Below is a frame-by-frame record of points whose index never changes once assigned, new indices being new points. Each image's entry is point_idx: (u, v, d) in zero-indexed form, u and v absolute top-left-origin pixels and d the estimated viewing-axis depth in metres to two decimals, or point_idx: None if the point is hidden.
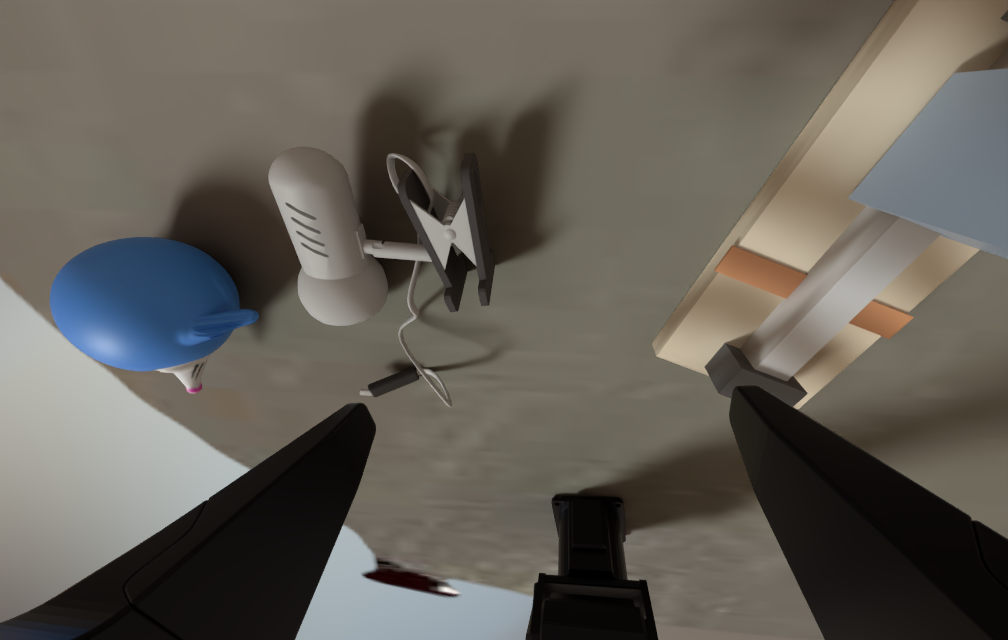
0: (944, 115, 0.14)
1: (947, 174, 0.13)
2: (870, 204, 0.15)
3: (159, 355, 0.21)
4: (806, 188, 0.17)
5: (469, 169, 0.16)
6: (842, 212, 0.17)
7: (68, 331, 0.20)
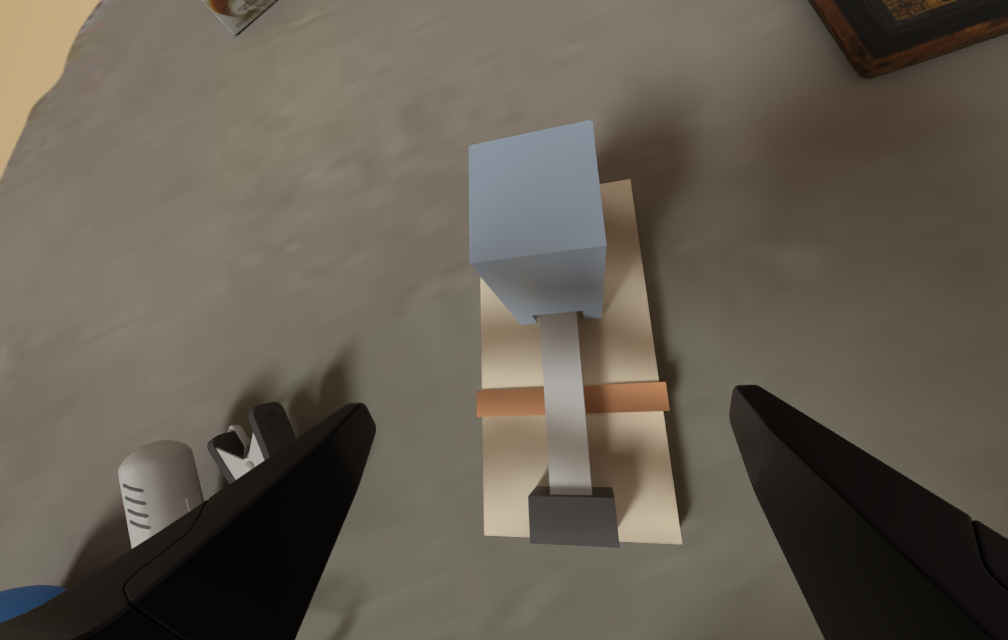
0: None
1: None
2: (516, 318, 0.20)
3: None
4: (497, 332, 0.22)
5: (256, 408, 0.22)
6: (533, 335, 0.22)
7: None
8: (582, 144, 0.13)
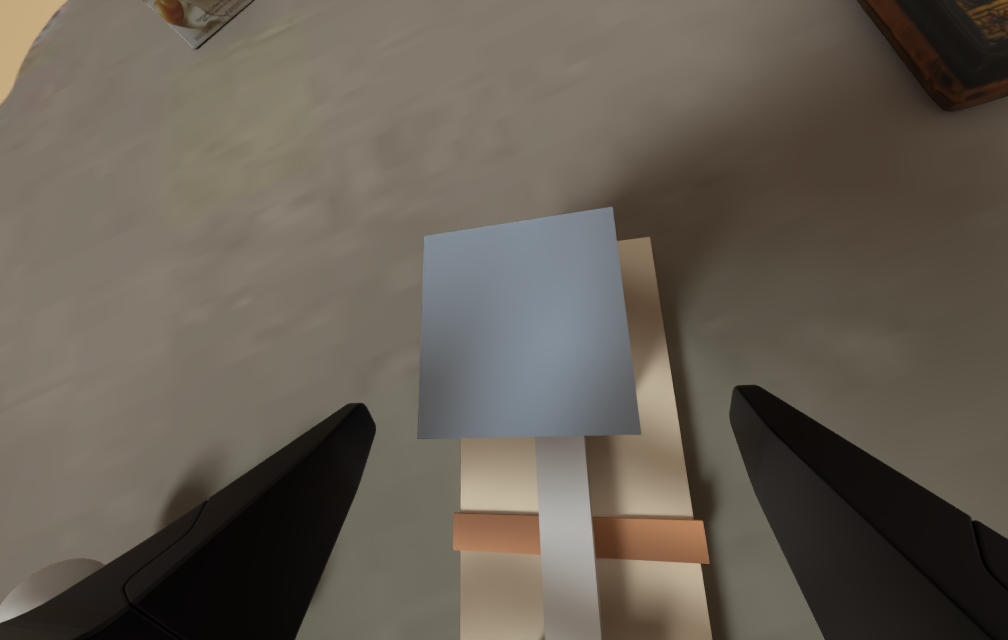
0: None
1: None
2: None
3: None
4: None
5: None
6: (526, 440, 0.17)
7: None
8: (597, 247, 0.08)
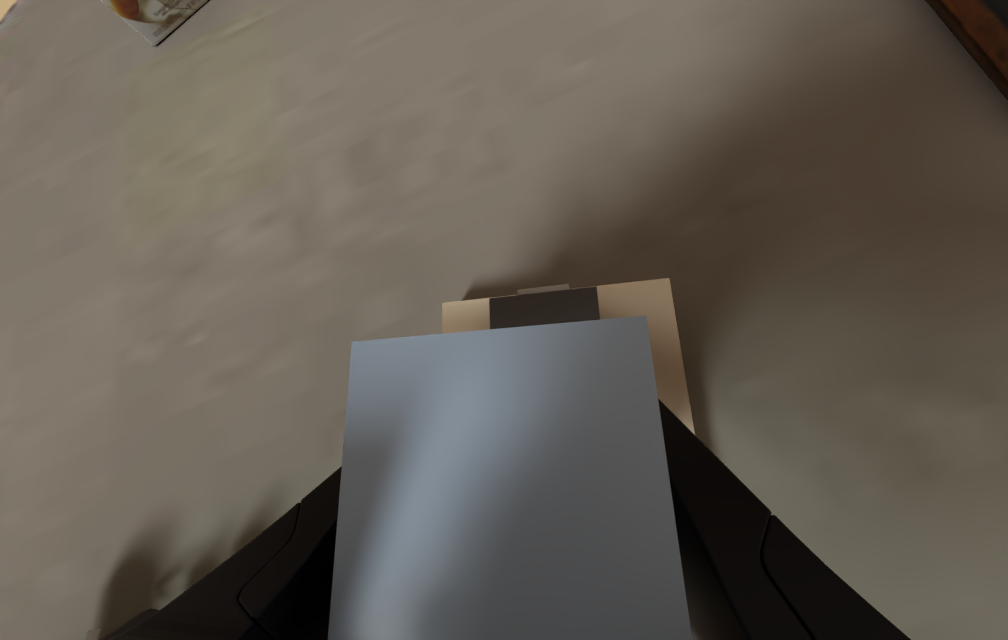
0: None
1: None
2: None
3: None
4: None
5: None
6: None
7: None
8: (623, 388, 0.05)
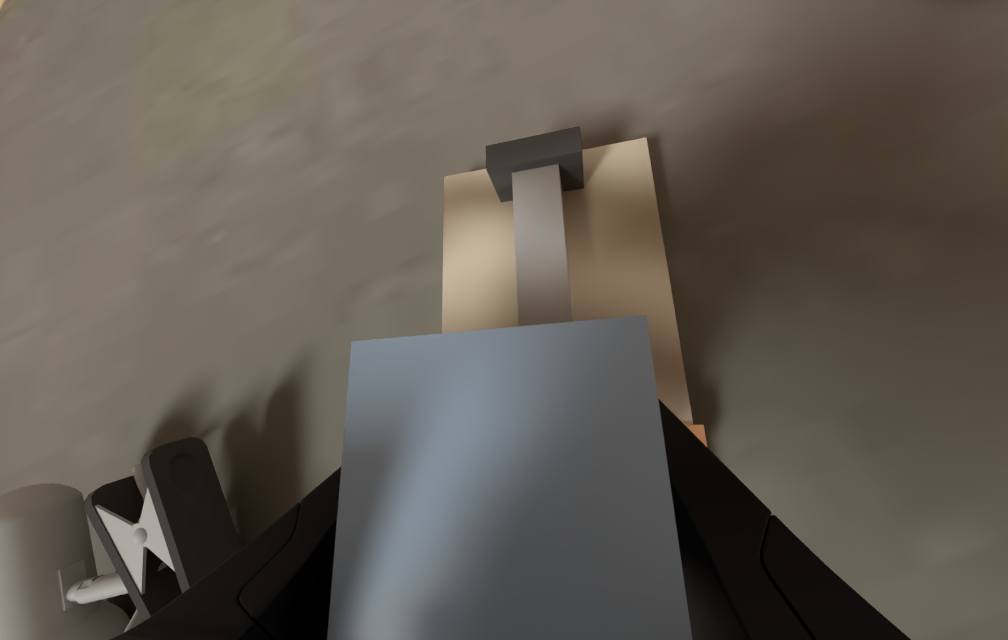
0: None
1: None
2: None
3: None
4: None
5: (156, 450, 0.15)
6: None
7: None
8: (623, 387, 0.05)
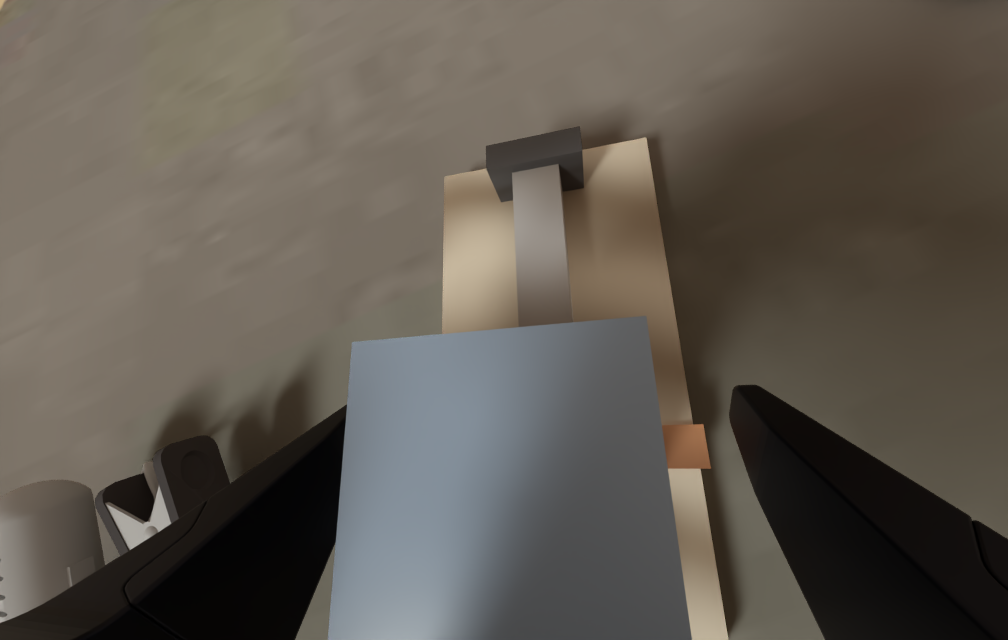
0: None
1: None
2: None
3: None
4: None
5: (168, 448, 0.15)
6: None
7: None
8: (622, 388, 0.05)
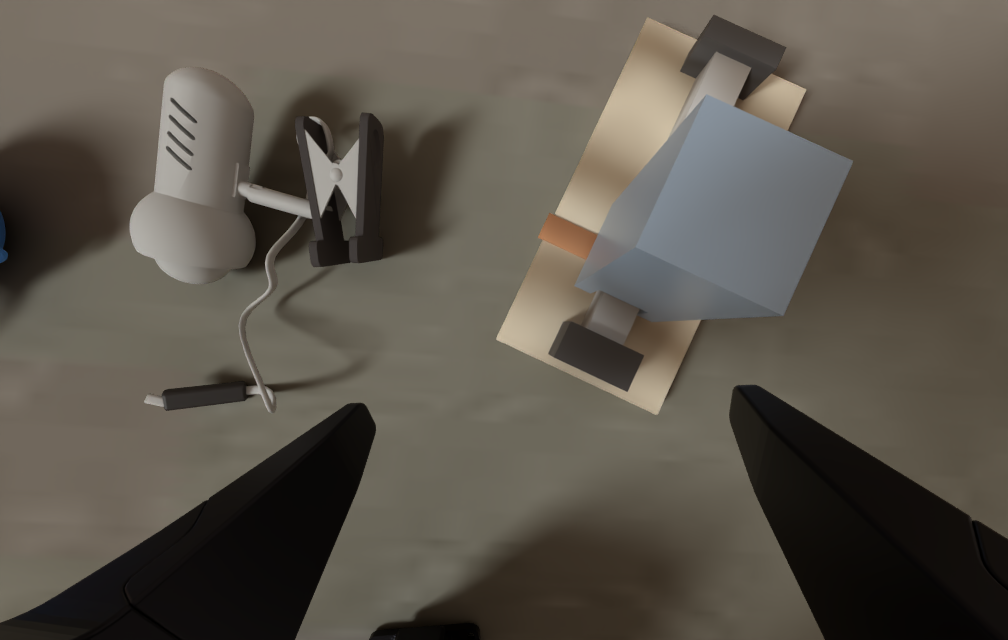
0: (606, 222, 0.19)
1: (602, 245, 0.16)
2: (579, 281, 0.18)
3: None
4: (596, 168, 0.20)
5: (370, 115, 0.18)
6: None
7: None
8: (826, 185, 0.10)
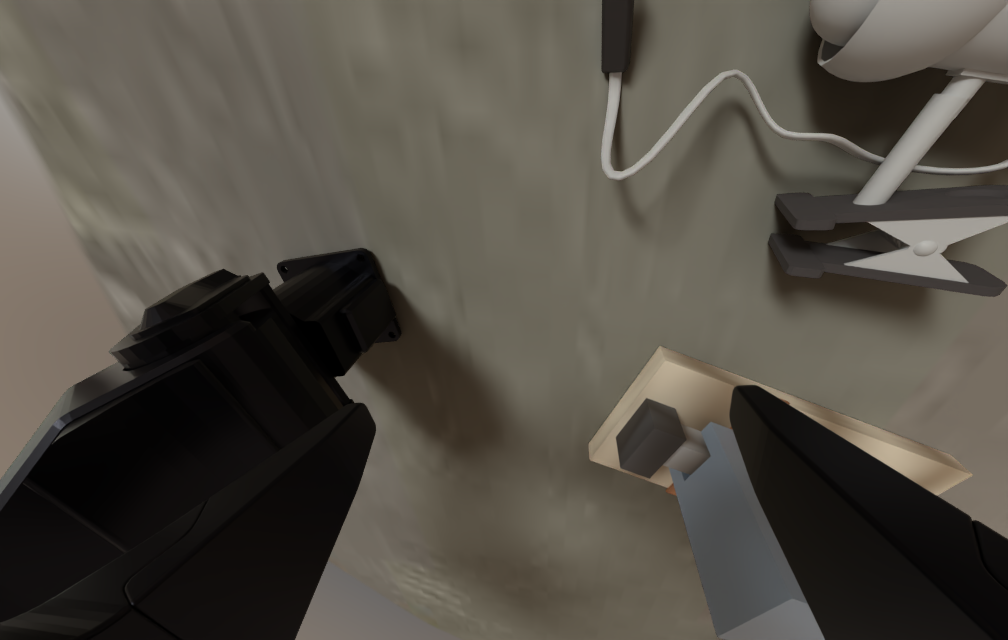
0: None
1: None
2: (719, 439, 0.21)
3: None
4: None
5: None
6: None
7: None
8: None
